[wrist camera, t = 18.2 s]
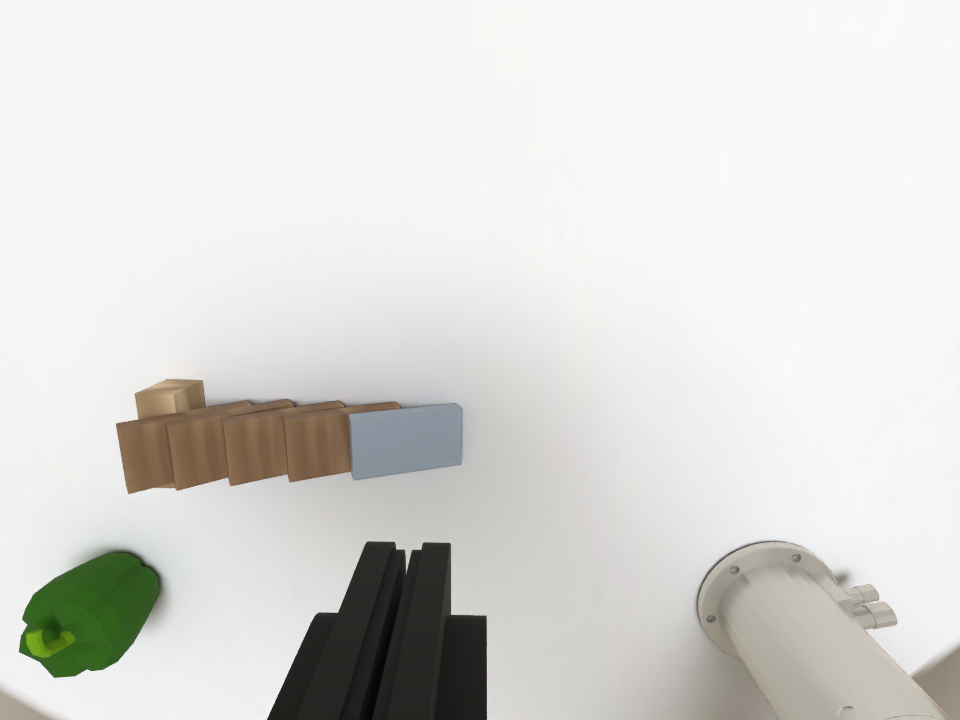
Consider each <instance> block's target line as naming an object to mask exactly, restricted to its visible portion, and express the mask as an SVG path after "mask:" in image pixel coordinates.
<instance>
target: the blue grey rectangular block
mask: <svg viewBox="0 0 960 720" xmlns="http://www.w3.org/2000/svg"><path fill="white" fill-rule="evenodd" d="M349 434H350V458H351V473H352V477H353V480H360V479H367V478H374V477H381V476H387V475H394V474H401V473H408V472H414V471H421V470H428V469H435V468H442V467H448V466H455V465H461V452H462V409H461V408H460V407H459V406H458V405H457V404H456V403H454V404H444V405H434V406H424V407H414V408H404V409H394V410H384V411H374V412H364V413H355V414H349Z"/></svg>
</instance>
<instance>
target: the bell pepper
mask: <svg viewBox="0 0 960 720" xmlns="http://www.w3.org/2000/svg"><path fill="white" fill-rule="evenodd" d="M158 595H159V585H158V578H157V574H156V573H154V572H153V571H152V570H151V569H150V568H149V567H144V566H142V565H141V562H140V560H138V559H137V558H136V557H134V556H133V555H132V554H130V553H107V554H105V555H102V556H100V557H97V558H95V559H93V560H91V561H88V562H86V563H84V564H82V565H79V566H77V567H75V568H73V569H72V570H70V571H68V572H66V573H64V574H62V575H60V576H58V577H56V578H54V579H53V580H52V581H50V582H49V583H48V584H46V585H45V586H44V587H43V588H41V589H40V590H39V591H37V592H36V593H35V594H34V595H33V596H32V598H31V600H30V602H29V604H28V605H27V607H26V609H25V612H24V615H23V618H22V620H23V621H24V622H25V623H26V624H27V627H26V629H25V630H24V632H23V634H22V635H21V641H20V648H19V652H20V653H22V654H24V655H26V656H28V657H31V658H33V659H35V660H37V661H39V662H40V663H41V664H42V665H43V666H44V667H45V668H46V669H47V670H48V672H49V673H50V674H51V675H52V676H53V677H54V678H57V677H70V676H76V675H78V674H80V673H81V672H83V671H85V670H87V669H88V670H90V671H96V670H103V669H105V668H107V667H108V666H110V665H112V664H114V663H116V662H118V660H119V659H120V658H121V657H122V656H123V655H124V653H125V652H126V651H127V650H128V649H129V647H130V646H131V645H132V644H133V643H134V641H135V639H136V637H137V636H138V634H139V632H140V630H141V629H142V627H143V625H144V623H145V622H146V620H147V618H148V616H149V614H150V612H151V610H152V608H153V606H154V603H155V601H156V599H157V597H158Z"/></svg>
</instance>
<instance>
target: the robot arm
mask: <svg viewBox="0 0 960 720" xmlns="http://www.w3.org/2000/svg"><path fill="white" fill-rule="evenodd" d="M878 600H879V595H878V592H877V591H876V589H875V588H874V587H873V586H872V585H871V584H867V585H862V586H857V587H854V588H851V589H845V588H843V587H841V586H840V587H838V585H837V581H836V579H835V577H834V575H833V574H832V572H831V570H830V569H829V568H828V567H827V566H826V565H825V564H824V563H823V562H822V561H821V560H820V559H819V558H818V557H817V556H816V555H814V554H813V553H812V552H810V551H808V550H806V549H805V548H803V547H800V546H797V545H794V544H790V543H782V542H764V543H759V544H754V545H750V546H748V547H745V548H742V549H740V550H738V551H736V552H734V553H732V554H731V555H729V556H727V557H726V558H725V559H723V560H722V561H721V562H720V563H718V564H717V565H716V566H715V568H714V569H713V570H712V571H711V572H710V573H709V575H708V576H707V578H706V580H705V581H704V583H703V585H702V588H701V591H700V594H699V600H698V613H699V618H700V621H701V624H702V626H703V628H704V630H705V632H706V633H707V635H708V637H709V638H710V640H711V641H712V642H713V643H714V644H715V646H717V647H718V648H719V649H720V650H722V651H723V652H724V653H726V654H728V655H730V656H732V657H734V658H737V659H740V660H743V662H744V664H745V665H746V667H747V669H748V670H749V672H750V674H751V675H752V677H753V678H754V680H755V682H756V683H757V685H758V687H759V688H760V690H761V692H762V693H763V695H764V696H765V698H766V700H767V701H768V703H769V705H770V706H771V708H772V710H773V711H774V713H775V714H776V716H777V718H778V719H779V720H952V719H950V717H948V715H947V714H946V713H945V712H944V711H943V710H942V709H941V708H940V707H939V706H938V705H937V704H936V703H935V702H934V701H933V700H932V699H931V698H930V697H929V696H928V695H927V694H926V693H925V692H924V691H923V690H922V689H921V688H920V686H918V685H917V683H916V682H915V681H914V680H913V679H912V678H911V677H910V676H909V675H908V674H907V673H906V672H905V671H904V670H903V669H902V668H901V667H900V666H899V665H898V664H897V663H896V662H895V661H894V660H893V659H892V658H891V657H890V656H889V655H888V654H887V653H886V651H885V650H884V649H883V648H882V647H881V646H880V645H879V644H878V643H877V642H876V641H875V640H874V639H873V638H872V637H871V636H870V635H869V634H868V633H867V632H866V631H865V629H870V628H873V629H878V628H884V627H889V626H894V625H896V624H897V618H896V615H895V613H894V612H893V610H892V608H891V607H890V606H889V605H888V604H887V603H885V602H877V603H872V604H867V605H862V606H861V607H858V608H853V604H858V603H868V602H873V601H878ZM852 608H853V609H852ZM267 720H487V618H486V616H473V615H451V544H450V543H425V542H424V543H423V546H422V550H412V553H411V557H410V561H409V565H408V570H407V574H406V556H405V550H396V545H395V542H369V541H368V542H366V544H365V546H364V549H363V551H362V554H361V556H360V559H359V561H358V564H357V567H356V569H355V572H354V574H353V577H352V579H351V582H350V584H349V587H348V589H347V592H346V594H345V597H344V599H343V602H342V604H341V607H340V609H339V612H338V613H318V614H316V615H315V617H314V619H313V620H312V622H311V624H310V626H309V629H308V631H307V633H306V635H305V637H304V640H303V642H302V644H301V646H300V648H299V651H298V653H297V655H296V657H295V659H294V662H293V664H292V666H291V668H290V670H289V672H288V675H287V677H286V679H285V681H284V683H283V686H282V688H281V690H280V692H279V694H278V697H277V699H276V701H275V703H274V705H273V708H272V710H271V712H270V714H269V716H268V719H267Z"/></svg>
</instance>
